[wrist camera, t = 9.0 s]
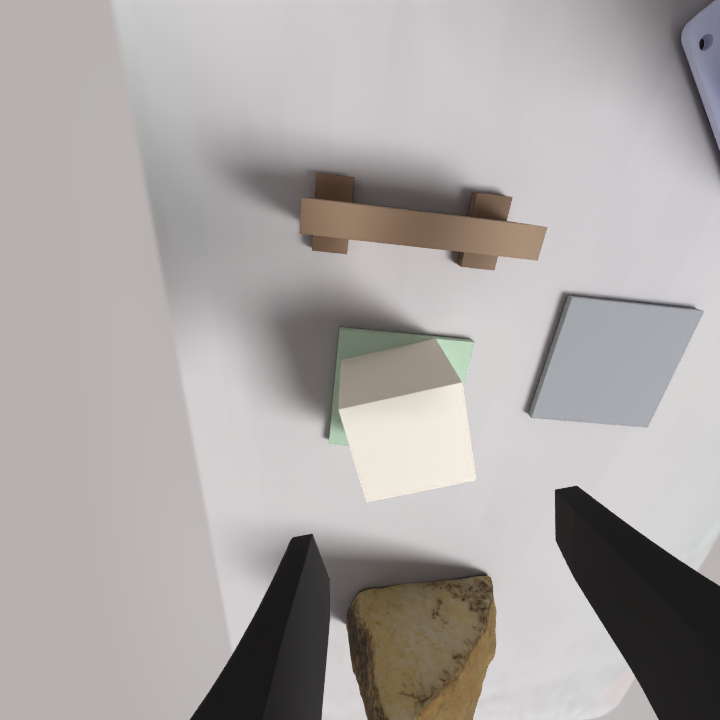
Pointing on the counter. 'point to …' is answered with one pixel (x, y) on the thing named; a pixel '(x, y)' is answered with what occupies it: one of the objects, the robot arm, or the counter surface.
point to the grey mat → (612, 361)
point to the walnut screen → (417, 226)
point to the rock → (423, 648)
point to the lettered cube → (405, 420)
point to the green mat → (374, 341)
